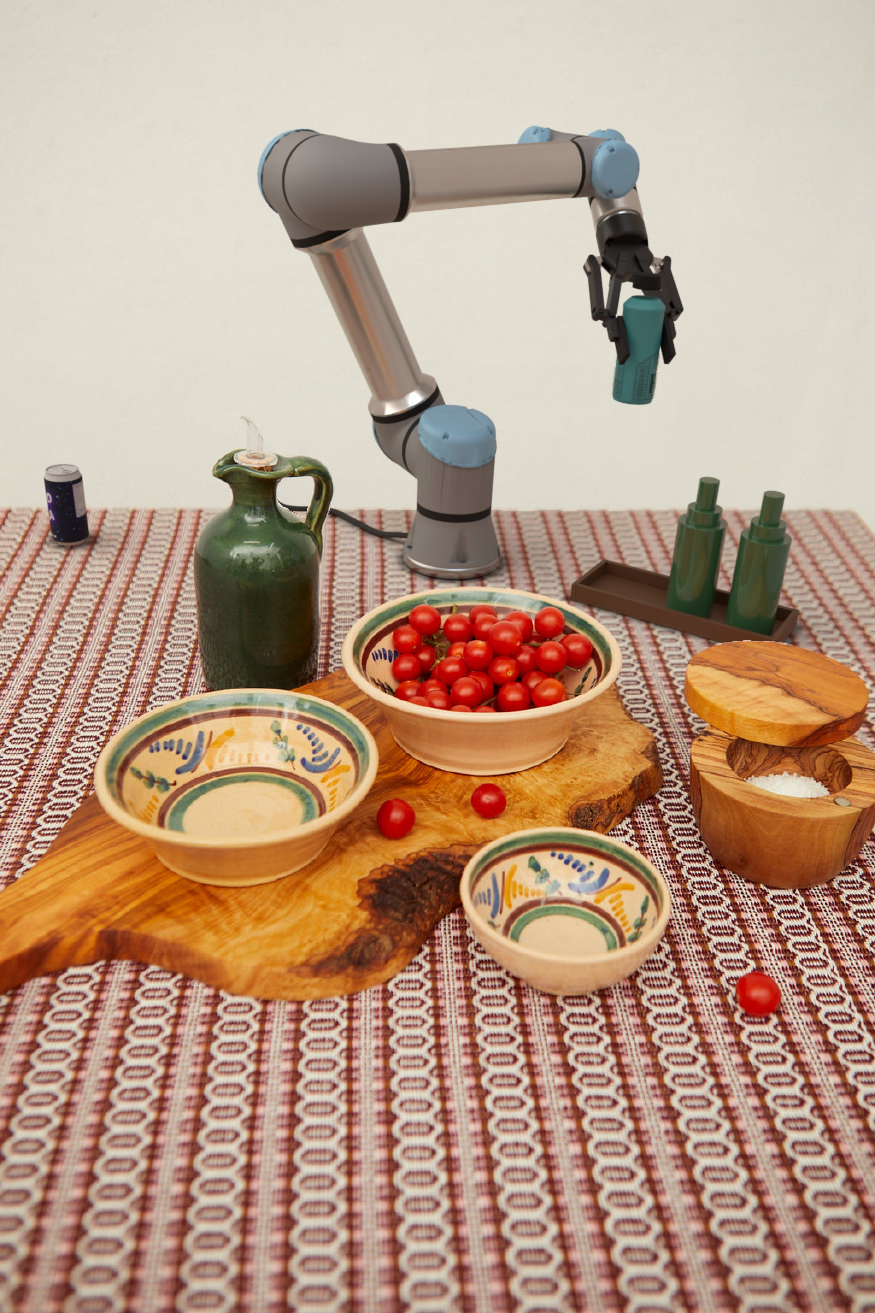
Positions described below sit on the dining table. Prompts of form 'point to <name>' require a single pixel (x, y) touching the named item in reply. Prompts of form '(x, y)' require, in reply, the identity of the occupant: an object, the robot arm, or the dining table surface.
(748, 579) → the green bottle
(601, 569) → the tray
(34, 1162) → the dining table surface
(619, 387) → the beverage bottle
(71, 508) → the beverage can
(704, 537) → the green bottle
